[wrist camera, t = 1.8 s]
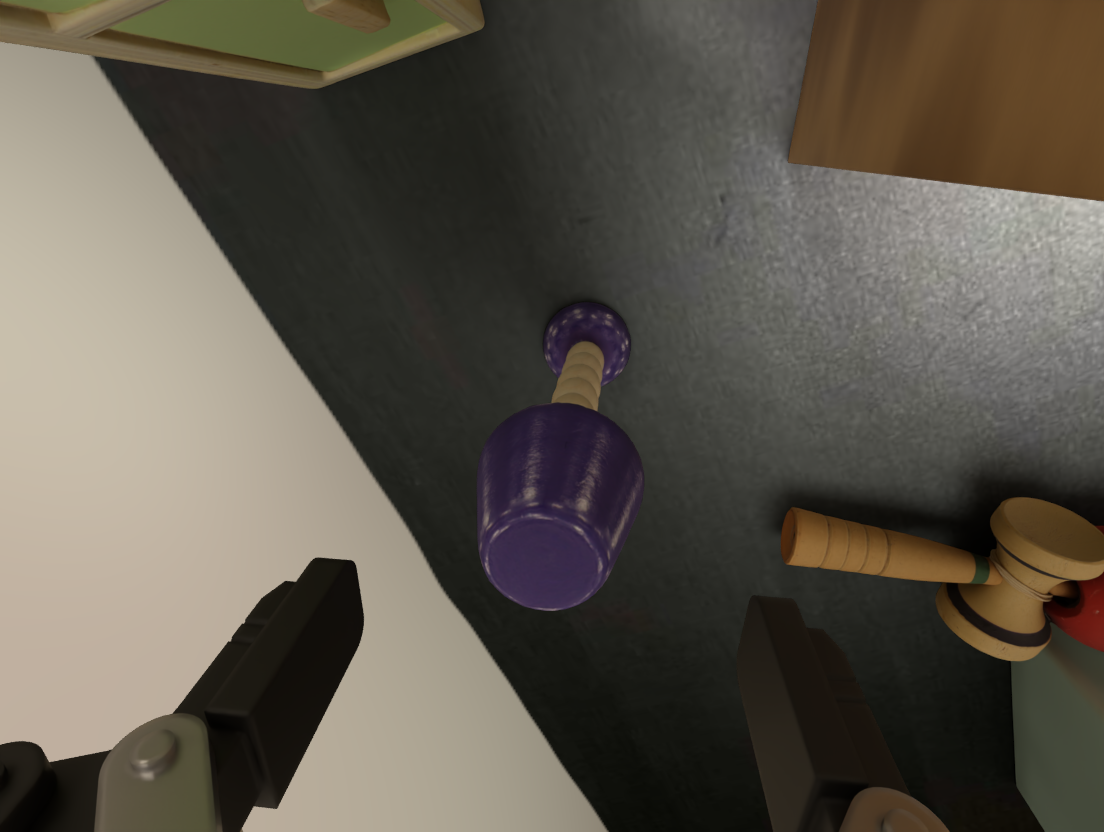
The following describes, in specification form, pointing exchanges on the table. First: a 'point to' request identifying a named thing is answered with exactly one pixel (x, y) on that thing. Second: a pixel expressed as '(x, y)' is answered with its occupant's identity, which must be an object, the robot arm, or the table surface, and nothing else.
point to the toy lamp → (561, 473)
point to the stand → (958, 93)
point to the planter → (1061, 734)
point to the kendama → (980, 572)
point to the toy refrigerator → (244, 33)
